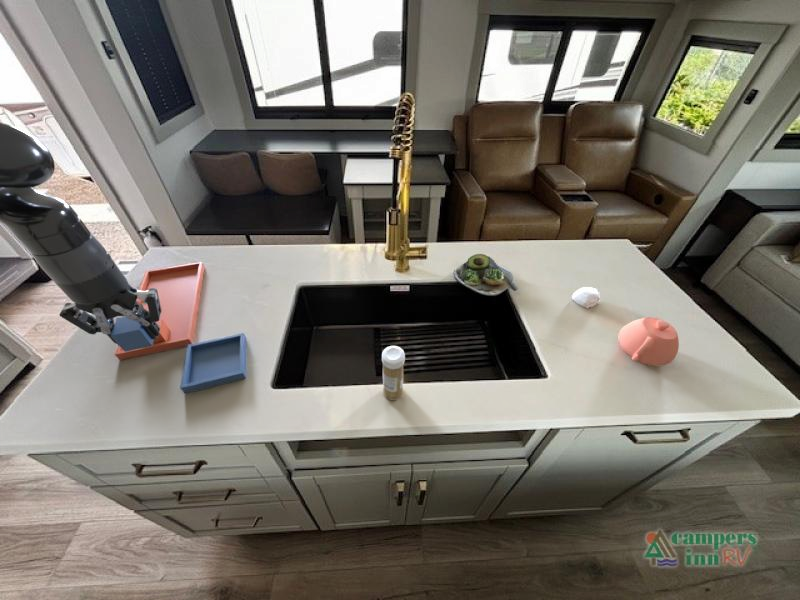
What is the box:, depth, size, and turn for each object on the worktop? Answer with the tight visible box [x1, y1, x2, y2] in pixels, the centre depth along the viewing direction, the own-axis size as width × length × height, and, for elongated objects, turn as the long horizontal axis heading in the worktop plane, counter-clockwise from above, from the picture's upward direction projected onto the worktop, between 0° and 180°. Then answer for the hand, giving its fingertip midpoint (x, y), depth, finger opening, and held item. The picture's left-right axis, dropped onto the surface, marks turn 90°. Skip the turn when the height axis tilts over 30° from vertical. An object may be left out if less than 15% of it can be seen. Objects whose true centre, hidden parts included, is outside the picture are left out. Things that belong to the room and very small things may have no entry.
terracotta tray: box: [114, 261, 206, 361], centre depth 89 cm, size 16×34×2 cm, turn 19°
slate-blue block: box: [110, 316, 154, 352], centre depth 60 cm, size 4×4×4 cm
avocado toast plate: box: [453, 253, 519, 297], centre depth 101 cm, size 19×18×5 cm
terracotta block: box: [153, 319, 170, 344], centre depth 79 cm, size 4×4×4 cm
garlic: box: [571, 286, 601, 309], centre depth 95 cm, size 8×7×4 cm
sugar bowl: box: [617, 316, 680, 367], centre depth 79 cm, size 12×14×10 cm
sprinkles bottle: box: [381, 345, 406, 401], centre depth 68 cm, size 5×5×14 cm
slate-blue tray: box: [180, 332, 247, 394], centre depth 76 cm, size 13×13×2 cm
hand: (140, 338), depth 61 cm, fingers closed on slate-blue block, 4 cm apart
